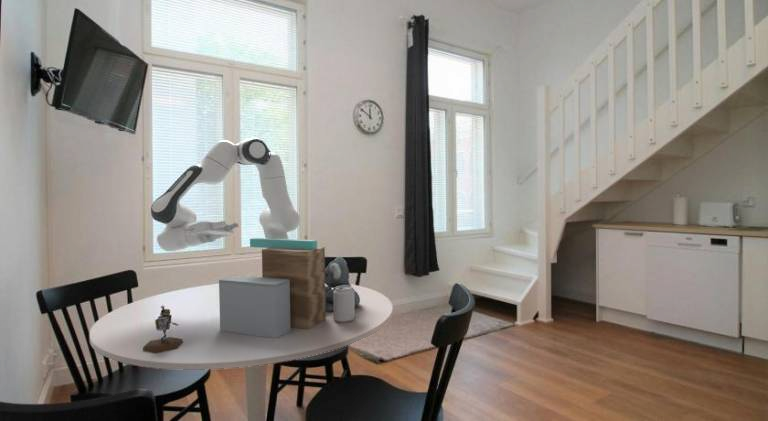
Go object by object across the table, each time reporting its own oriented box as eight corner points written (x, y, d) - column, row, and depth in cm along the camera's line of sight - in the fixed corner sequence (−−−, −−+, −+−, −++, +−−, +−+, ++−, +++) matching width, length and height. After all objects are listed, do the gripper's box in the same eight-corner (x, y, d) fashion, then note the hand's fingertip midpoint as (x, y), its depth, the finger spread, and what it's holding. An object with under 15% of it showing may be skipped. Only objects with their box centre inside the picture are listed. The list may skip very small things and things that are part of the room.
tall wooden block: (283, 314, 156) (281, 245, 155) (325, 318, 150) (324, 247, 149) (263, 323, 145) (261, 249, 144) (308, 329, 139) (307, 251, 137)
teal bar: (255, 245, 154) (255, 237, 154) (317, 248, 145) (316, 240, 145) (250, 246, 151) (249, 238, 151) (312, 249, 142) (312, 241, 142)
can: (345, 315, 154) (345, 283, 153) (358, 319, 148) (358, 286, 148) (329, 320, 148) (329, 286, 148) (342, 324, 143) (342, 290, 143)
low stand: (236, 323, 145) (235, 275, 144) (290, 330, 138) (289, 279, 137) (220, 330, 138) (218, 279, 137) (276, 338, 130) (275, 284, 129)
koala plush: (321, 300, 175) (320, 254, 175) (363, 301, 174) (363, 255, 173) (310, 312, 158) (309, 261, 157) (356, 313, 156) (356, 262, 155)
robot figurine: (173, 352, 119) (172, 311, 119) (138, 354, 118) (137, 312, 117) (185, 339, 130) (184, 301, 130) (153, 340, 129) (152, 302, 128)
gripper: (180, 223, 151) (214, 213, 149) (212, 226, 171) (242, 218, 169) (183, 240, 150) (217, 230, 148) (214, 241, 170) (245, 233, 168)
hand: (231, 224), depth 159 cm, fingers open, 8 cm apart
